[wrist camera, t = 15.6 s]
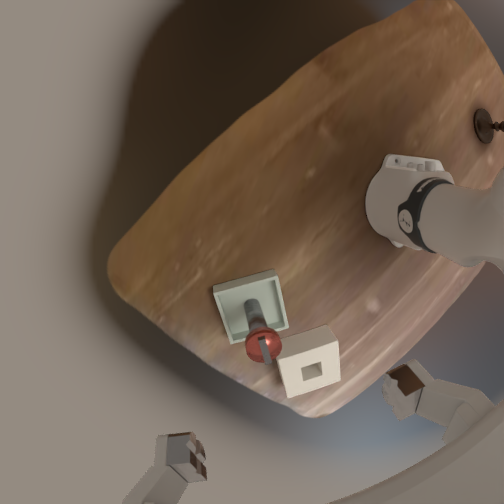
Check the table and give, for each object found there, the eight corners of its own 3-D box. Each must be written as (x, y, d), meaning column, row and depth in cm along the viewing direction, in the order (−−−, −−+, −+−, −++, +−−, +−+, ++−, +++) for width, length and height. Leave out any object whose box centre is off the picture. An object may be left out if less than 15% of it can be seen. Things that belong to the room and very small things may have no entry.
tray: (273, 268, 51) (277, 275, 48) (284, 319, 55) (288, 327, 52) (212, 285, 50) (213, 293, 47) (229, 335, 54) (230, 344, 51)
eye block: (326, 324, 57) (337, 340, 51) (330, 363, 61) (340, 380, 55) (271, 341, 56) (278, 360, 50) (281, 380, 60) (287, 398, 54)
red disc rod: (268, 313, 53) (286, 360, 40) (241, 320, 52) (252, 369, 39) (262, 289, 51) (280, 333, 38) (234, 297, 51) (243, 343, 38)
